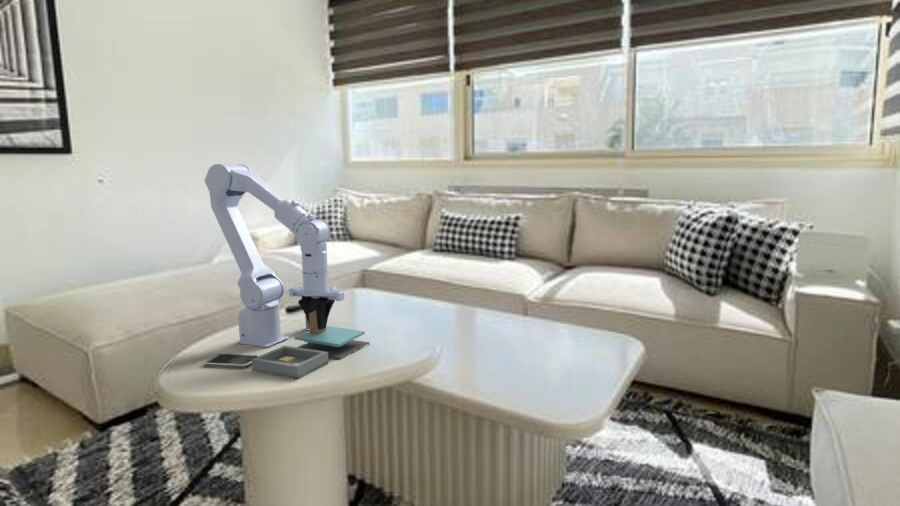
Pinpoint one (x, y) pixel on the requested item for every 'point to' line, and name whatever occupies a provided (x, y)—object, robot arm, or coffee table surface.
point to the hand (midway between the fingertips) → (317, 327)
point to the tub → (290, 361)
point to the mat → (336, 348)
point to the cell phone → (229, 361)
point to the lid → (327, 334)
